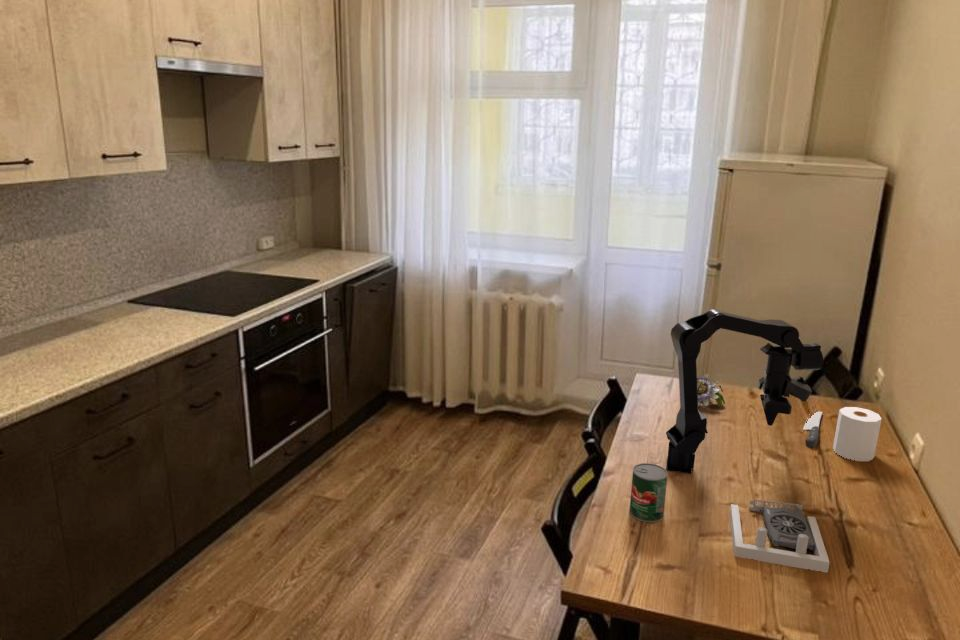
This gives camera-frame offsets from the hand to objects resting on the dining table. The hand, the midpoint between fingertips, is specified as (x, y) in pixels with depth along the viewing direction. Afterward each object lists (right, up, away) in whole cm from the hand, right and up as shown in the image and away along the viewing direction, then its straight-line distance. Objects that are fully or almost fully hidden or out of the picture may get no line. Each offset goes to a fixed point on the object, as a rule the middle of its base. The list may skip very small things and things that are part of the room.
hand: (769, 424), depth 183 cm
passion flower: (-3, 0, +44) cm, 45 cm away
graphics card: (-8, -21, -26) cm, 34 cm away
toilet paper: (+28, -10, +12) cm, 32 cm away
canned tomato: (-38, -18, -20) cm, 46 cm away
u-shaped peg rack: (-11, -21, -30) cm, 38 cm away
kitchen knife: (+24, -6, +27) cm, 37 cm away
